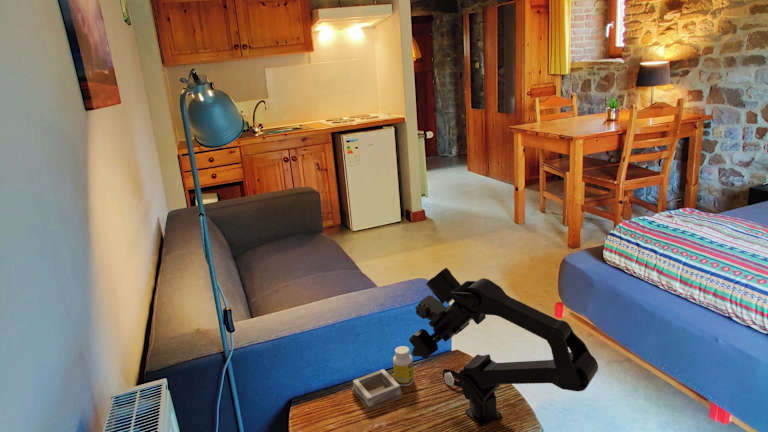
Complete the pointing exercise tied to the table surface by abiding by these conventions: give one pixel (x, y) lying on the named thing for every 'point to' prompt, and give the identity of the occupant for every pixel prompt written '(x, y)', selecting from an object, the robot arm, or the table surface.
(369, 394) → the grey open square box
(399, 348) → the supplement bottle
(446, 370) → the watch
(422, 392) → the table surface
